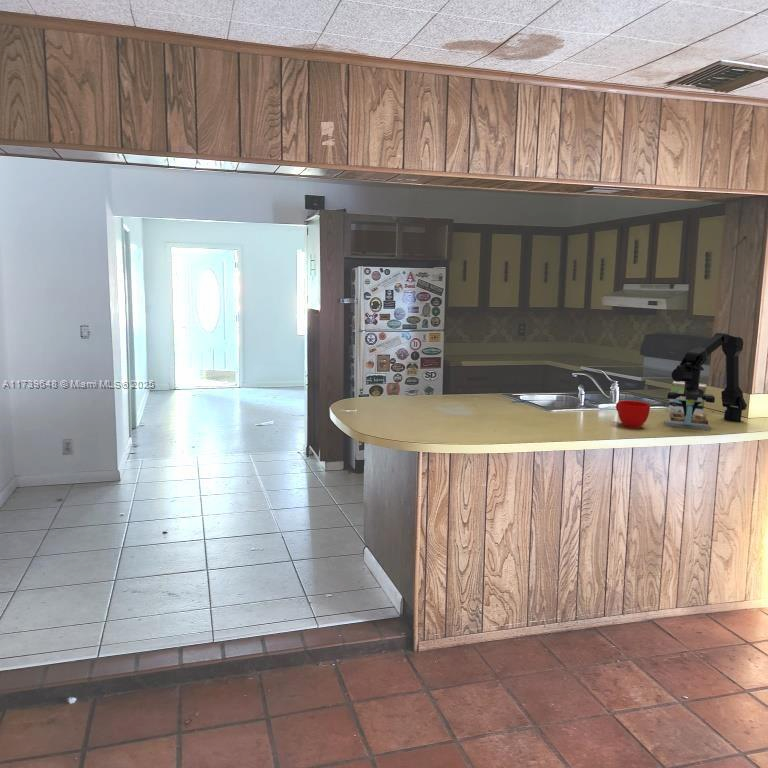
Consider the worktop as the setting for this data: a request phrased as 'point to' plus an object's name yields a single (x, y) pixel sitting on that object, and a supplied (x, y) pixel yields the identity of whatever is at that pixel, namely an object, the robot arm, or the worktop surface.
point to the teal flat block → (688, 414)
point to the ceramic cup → (632, 413)
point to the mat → (682, 424)
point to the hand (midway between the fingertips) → (688, 416)
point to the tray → (681, 418)
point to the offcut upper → (698, 416)
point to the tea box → (677, 406)
